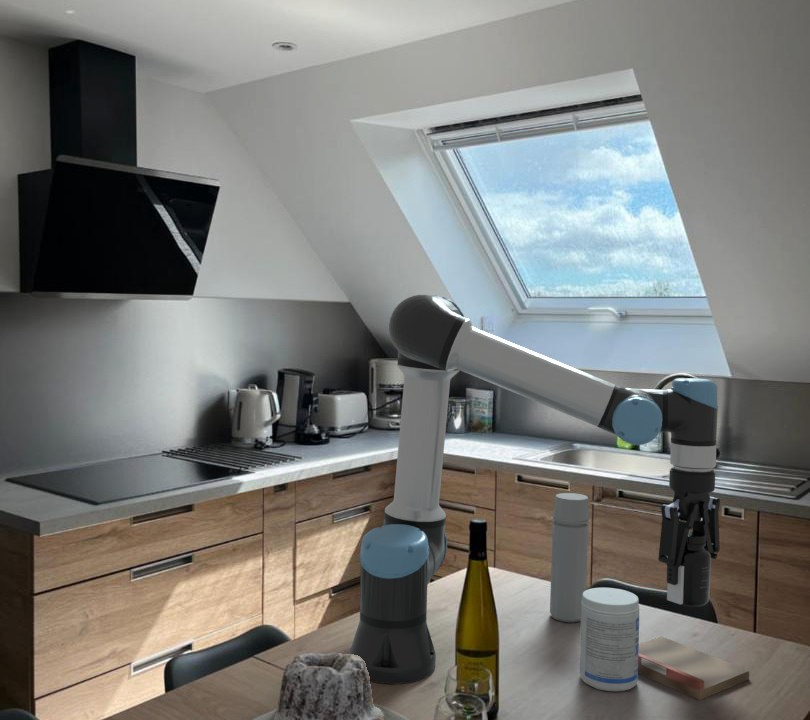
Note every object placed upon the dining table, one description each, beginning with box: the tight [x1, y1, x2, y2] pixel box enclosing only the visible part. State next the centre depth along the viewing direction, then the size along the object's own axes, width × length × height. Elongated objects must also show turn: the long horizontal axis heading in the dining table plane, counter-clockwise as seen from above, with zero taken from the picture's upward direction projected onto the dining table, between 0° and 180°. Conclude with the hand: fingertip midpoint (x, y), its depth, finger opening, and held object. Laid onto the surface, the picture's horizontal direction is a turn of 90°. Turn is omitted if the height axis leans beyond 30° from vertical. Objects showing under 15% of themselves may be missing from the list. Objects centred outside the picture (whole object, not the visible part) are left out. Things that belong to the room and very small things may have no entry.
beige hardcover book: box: [638, 636, 750, 701], centre depth 146 cm, size 18×14×3 cm
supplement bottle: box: [681, 529, 712, 607], centre depth 146 cm, size 7×7×12 cm
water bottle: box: [549, 492, 591, 624], centre depth 171 cm, size 9×8×25 cm
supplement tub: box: [579, 587, 640, 692], centre depth 141 cm, size 10×10×15 cm
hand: (688, 597), depth 147 cm, fingers closed on supplement bottle, 7 cm apart
